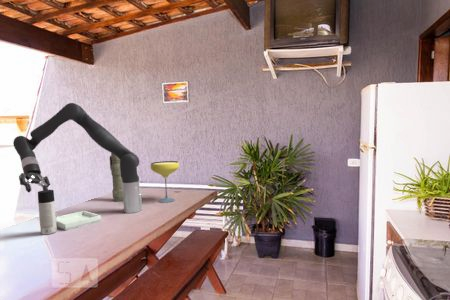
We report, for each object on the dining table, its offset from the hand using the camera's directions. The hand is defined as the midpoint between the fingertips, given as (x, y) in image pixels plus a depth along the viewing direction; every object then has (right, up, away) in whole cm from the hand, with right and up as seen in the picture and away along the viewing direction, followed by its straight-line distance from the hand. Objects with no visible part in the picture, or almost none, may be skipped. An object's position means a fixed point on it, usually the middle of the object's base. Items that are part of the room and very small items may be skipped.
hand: (38, 192), depth 159 cm
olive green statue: (+24, -13, +53) cm, 59 cm away
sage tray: (+17, -16, +4) cm, 24 cm away
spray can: (+12, -18, -11) cm, 24 cm away
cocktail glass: (+56, -12, +47) cm, 74 cm away
